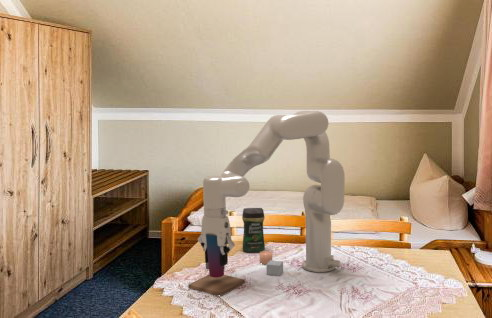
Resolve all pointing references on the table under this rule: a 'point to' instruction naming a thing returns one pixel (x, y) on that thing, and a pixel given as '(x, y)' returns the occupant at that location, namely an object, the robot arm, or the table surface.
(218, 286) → the walnut board
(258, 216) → the coffee jar
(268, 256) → the terracotta ball
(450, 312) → the table surface
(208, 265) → the taupe block
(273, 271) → the slate block
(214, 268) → the cup
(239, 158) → the robot arm
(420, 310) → the table surface
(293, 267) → the table surface
